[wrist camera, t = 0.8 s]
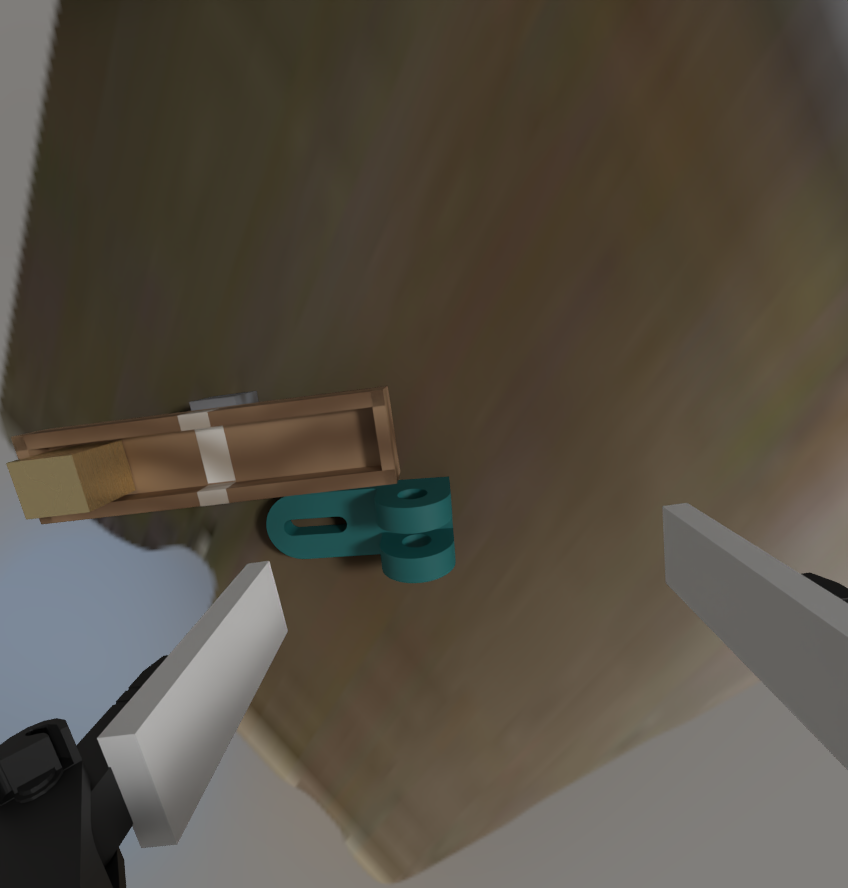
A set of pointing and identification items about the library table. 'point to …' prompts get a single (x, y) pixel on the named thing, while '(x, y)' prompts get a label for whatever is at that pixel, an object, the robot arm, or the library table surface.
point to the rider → (71, 479)
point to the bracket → (374, 527)
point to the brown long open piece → (240, 450)
